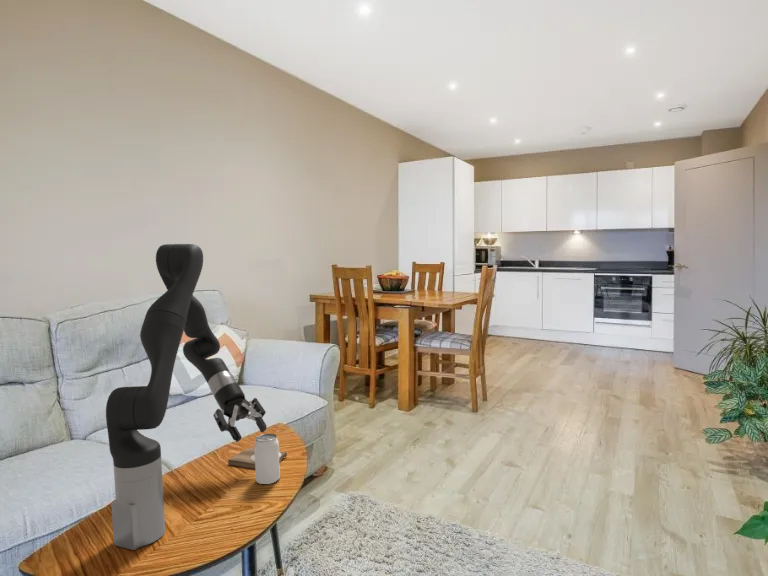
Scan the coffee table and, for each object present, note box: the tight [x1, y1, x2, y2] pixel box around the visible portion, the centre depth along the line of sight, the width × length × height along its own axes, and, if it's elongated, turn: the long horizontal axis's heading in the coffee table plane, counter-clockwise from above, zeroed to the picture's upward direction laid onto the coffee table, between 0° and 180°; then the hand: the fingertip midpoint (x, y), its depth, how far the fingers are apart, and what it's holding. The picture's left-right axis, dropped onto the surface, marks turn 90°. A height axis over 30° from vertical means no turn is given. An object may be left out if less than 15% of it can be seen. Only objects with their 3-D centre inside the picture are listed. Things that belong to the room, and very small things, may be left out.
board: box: [227, 447, 288, 469], centre depth 142 cm, size 10×14×2 cm
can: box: [253, 433, 281, 485], centre depth 128 cm, size 6×6×12 cm
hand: (252, 435), depth 132 cm, fingers open, 8 cm apart
